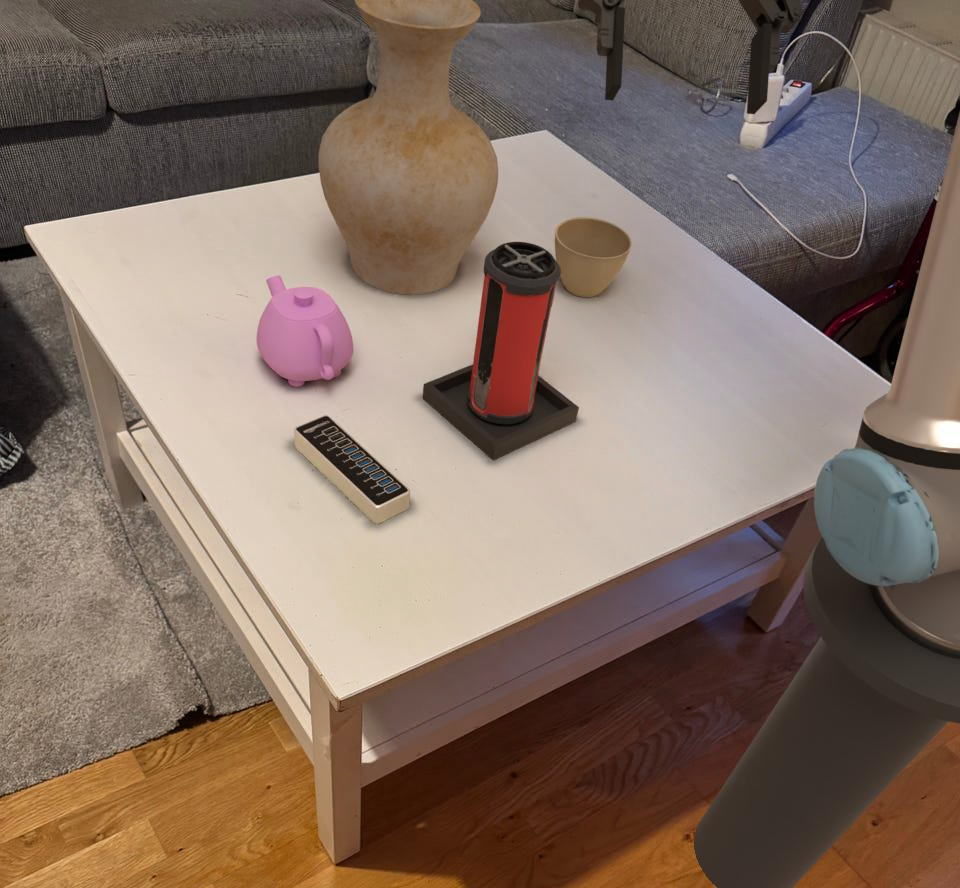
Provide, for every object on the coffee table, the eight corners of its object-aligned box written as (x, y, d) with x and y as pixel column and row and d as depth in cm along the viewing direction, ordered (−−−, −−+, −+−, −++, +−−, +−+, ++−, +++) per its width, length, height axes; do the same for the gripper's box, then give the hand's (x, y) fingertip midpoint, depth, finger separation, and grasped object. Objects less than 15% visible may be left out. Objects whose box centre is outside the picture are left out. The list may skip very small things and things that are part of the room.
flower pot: (534, 271, 124) (543, 220, 119) (598, 264, 127) (610, 214, 122) (564, 312, 119) (575, 260, 113) (631, 304, 122) (645, 253, 116)
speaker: (452, 398, 104) (469, 248, 90) (503, 377, 108) (527, 229, 94) (496, 436, 101) (521, 286, 87) (547, 413, 104) (578, 265, 90)
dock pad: (576, 421, 105) (579, 407, 103) (493, 460, 99) (495, 446, 97) (504, 364, 110) (507, 350, 109) (422, 398, 104) (423, 383, 103)
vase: (372, 207, 130) (378, -47, 106) (511, 256, 126) (549, 4, 102) (288, 274, 117) (273, 2, 93) (440, 332, 113) (465, 63, 89)
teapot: (288, 410, 100) (284, 335, 93) (234, 336, 107) (226, 261, 100) (373, 387, 104) (375, 314, 97) (315, 317, 112) (313, 244, 104)
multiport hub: (376, 525, 91) (376, 508, 89) (293, 445, 97) (292, 428, 95) (410, 507, 93) (412, 490, 91) (327, 430, 99) (327, 413, 97)
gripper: (812, -108, 86) (795, 130, 88) (552, -143, 83) (542, 106, 85) (854, -168, 78) (835, 94, 81) (571, -209, 75) (560, 66, 78)
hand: (685, 100), depth 83 cm, fingers open, 13 cm apart
